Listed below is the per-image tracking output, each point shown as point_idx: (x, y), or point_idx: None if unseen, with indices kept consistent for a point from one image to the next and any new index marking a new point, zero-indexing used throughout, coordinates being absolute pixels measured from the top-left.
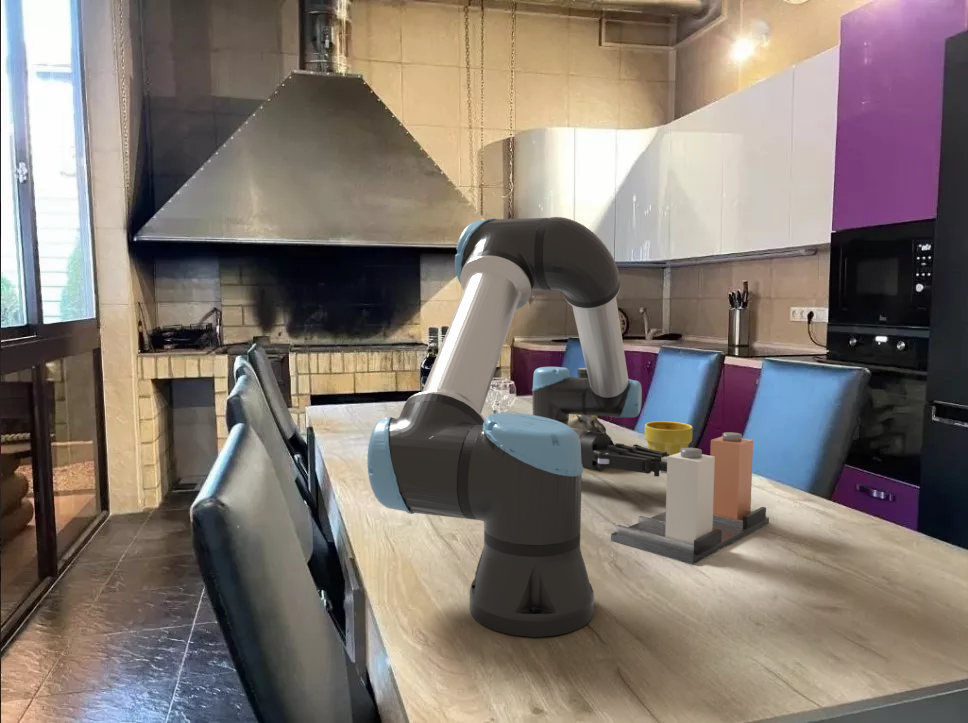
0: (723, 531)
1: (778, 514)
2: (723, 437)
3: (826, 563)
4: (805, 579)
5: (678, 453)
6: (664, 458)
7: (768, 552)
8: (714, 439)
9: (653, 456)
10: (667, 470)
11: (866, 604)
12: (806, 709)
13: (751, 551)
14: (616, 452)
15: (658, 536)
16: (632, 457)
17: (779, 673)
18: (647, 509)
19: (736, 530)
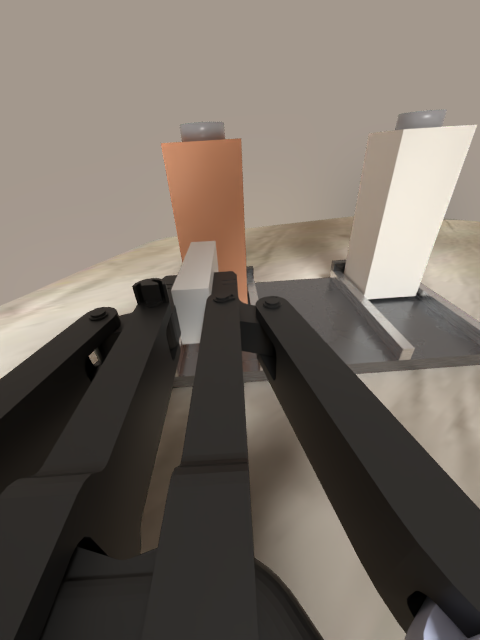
0: (289, 289)
1: (123, 303)
2: (219, 132)
3: (266, 252)
4: (316, 248)
5: (432, 127)
6: (209, 281)
7: (285, 269)
8: (227, 139)
9: (159, 336)
10: (462, 161)
11: (316, 233)
12: (453, 220)
13: (299, 275)
14: (267, 635)
15: (430, 292)
16: (314, 351)
17: (447, 226)
18: (270, 443)
19: (269, 285)
